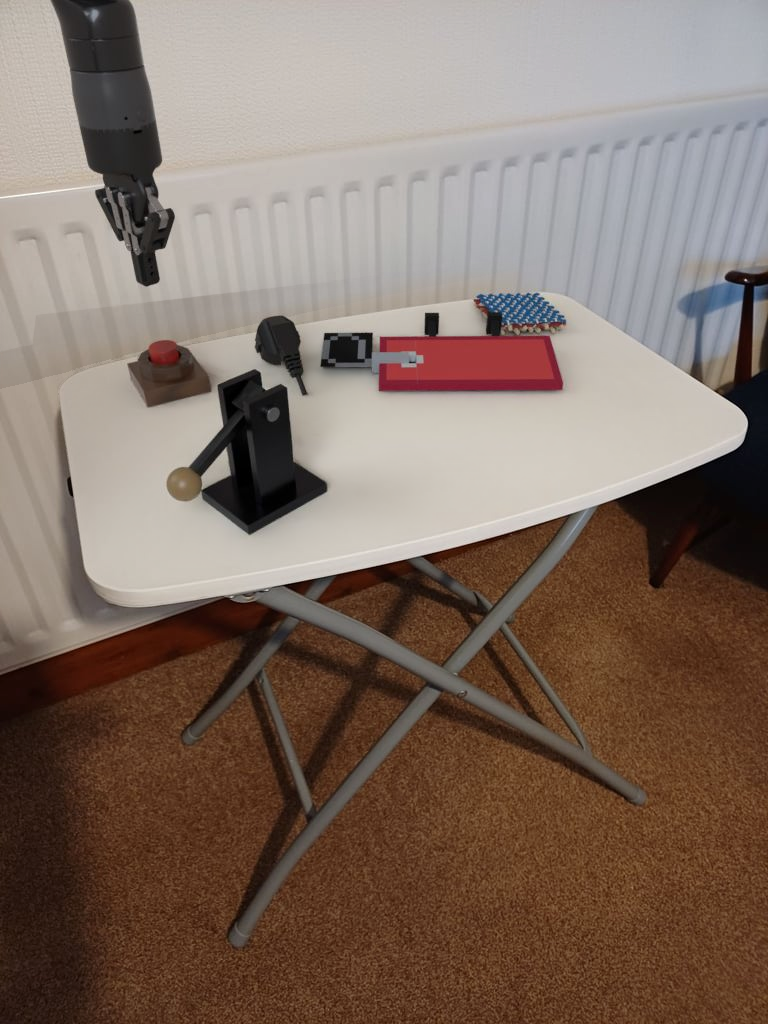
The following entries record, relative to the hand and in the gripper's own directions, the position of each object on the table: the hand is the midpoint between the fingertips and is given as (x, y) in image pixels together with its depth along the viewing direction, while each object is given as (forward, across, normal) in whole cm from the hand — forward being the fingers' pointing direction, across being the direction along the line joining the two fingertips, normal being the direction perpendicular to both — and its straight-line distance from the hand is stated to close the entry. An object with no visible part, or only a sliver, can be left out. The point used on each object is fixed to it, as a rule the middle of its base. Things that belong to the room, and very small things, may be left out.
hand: (148, 283), depth 90 cm
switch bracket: (+14, +26, -5) cm, 30 cm away
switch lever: (+7, +26, -9) cm, 28 cm away
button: (+10, 0, 0) cm, 10 cm away
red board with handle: (+13, +20, +28) cm, 37 cm away
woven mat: (+13, +19, +46) cm, 51 cm away
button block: (+14, 0, 0) cm, 14 cm away
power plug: (+14, +8, +13) cm, 20 cm away
